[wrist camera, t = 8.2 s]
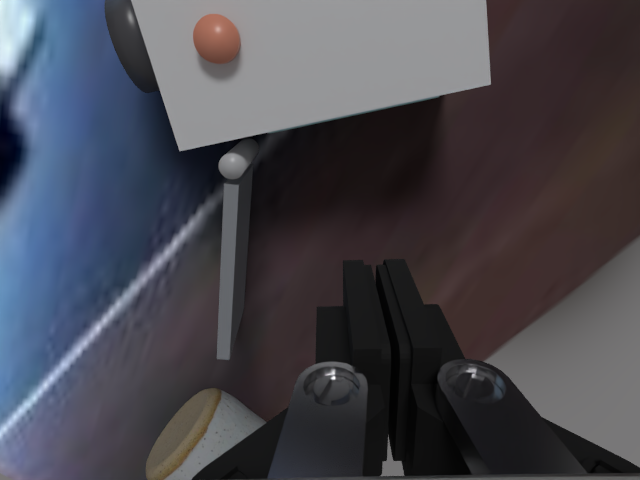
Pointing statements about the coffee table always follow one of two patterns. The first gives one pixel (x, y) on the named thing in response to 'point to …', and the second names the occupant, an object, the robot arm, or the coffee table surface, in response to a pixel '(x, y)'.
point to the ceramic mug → (200, 435)
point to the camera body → (294, 59)
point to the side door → (234, 241)
